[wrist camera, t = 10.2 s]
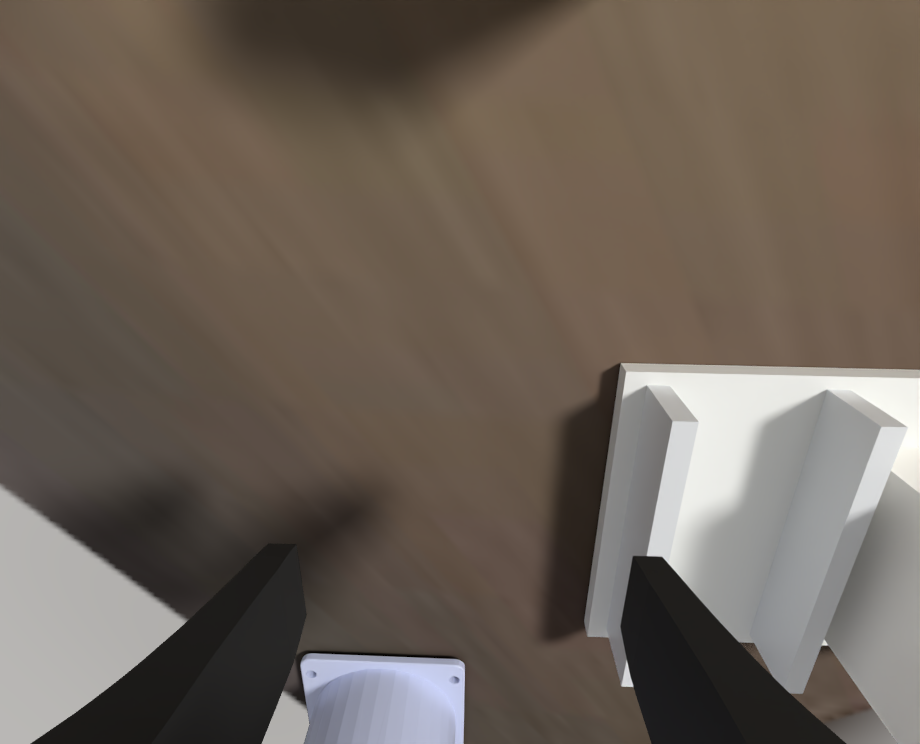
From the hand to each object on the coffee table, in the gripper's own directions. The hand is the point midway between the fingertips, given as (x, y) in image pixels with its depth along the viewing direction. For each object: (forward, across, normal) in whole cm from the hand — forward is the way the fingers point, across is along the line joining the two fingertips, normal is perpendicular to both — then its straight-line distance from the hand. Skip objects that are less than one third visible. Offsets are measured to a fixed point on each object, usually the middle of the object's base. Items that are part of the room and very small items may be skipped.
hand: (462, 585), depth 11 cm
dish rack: (+9, -13, +5) cm, 17 cm away
